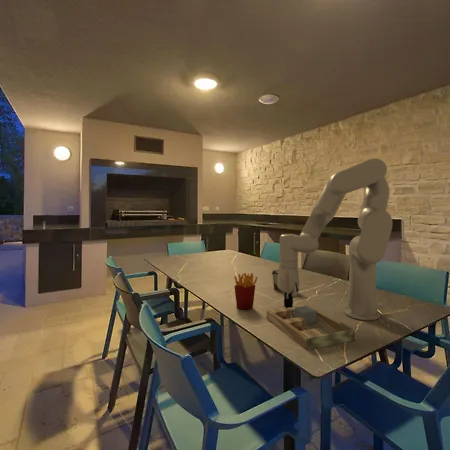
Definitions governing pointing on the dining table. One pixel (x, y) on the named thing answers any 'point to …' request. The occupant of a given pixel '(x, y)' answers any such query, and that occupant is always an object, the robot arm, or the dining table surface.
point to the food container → (275, 280)
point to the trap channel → (312, 336)
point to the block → (306, 314)
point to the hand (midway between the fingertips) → (288, 307)
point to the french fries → (245, 291)
